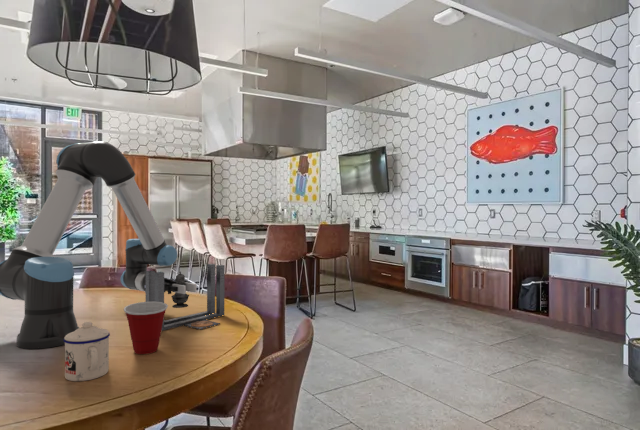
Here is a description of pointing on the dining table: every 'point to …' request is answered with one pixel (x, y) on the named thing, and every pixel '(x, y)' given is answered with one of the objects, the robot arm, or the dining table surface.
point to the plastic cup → (145, 325)
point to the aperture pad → (201, 324)
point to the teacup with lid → (86, 353)
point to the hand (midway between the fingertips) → (190, 289)
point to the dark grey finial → (178, 297)
